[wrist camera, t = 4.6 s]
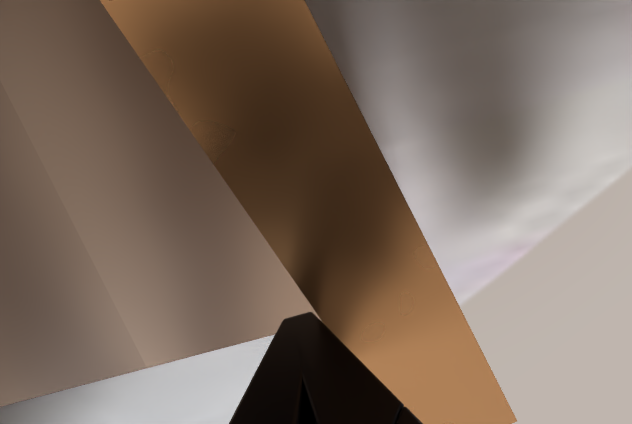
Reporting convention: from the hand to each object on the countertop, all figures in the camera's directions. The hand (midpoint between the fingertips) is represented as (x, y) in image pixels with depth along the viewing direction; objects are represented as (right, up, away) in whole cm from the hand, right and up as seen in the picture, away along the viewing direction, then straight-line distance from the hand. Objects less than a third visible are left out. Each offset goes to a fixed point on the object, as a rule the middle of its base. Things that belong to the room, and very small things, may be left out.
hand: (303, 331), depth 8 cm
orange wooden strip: (-3, +8, -3) cm, 8 cm away
